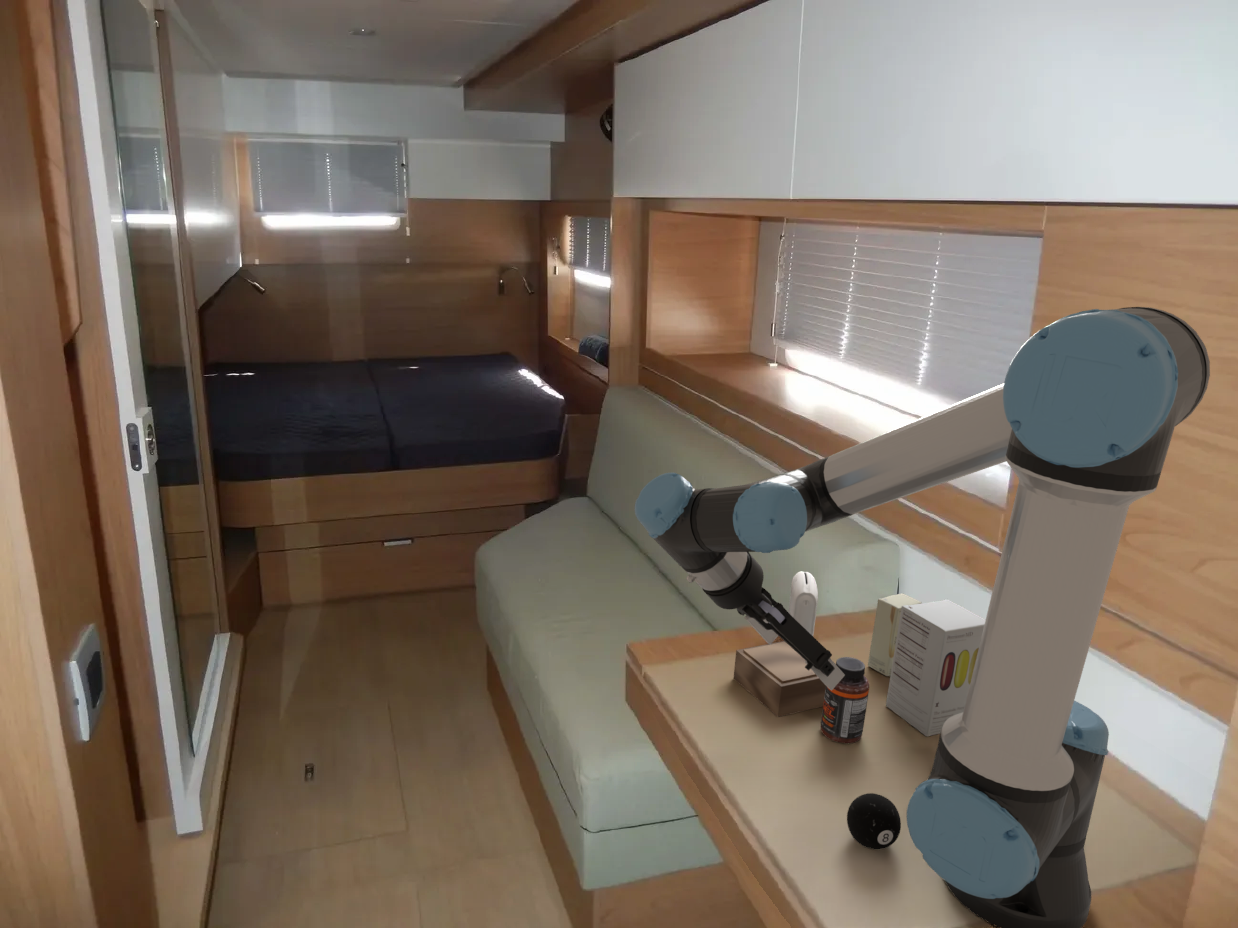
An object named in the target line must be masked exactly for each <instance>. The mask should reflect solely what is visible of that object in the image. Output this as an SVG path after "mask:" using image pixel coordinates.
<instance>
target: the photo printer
mask: <svg viewBox="0 0 1238 928" xmlns="http://www.w3.org/2000/svg"><path fill="white" fill-rule="evenodd" d="M818 591H819V590H818V585H817V582H816V578H815V576H813V574H812V573H810V572H809V571H802V570H801V571H798V572H796V573H795V574H794V575H793V577H792V580H791V584H790V594H789V595H790V597H789V604H788V611H787V612H788V613H789V614H790V615H791V616H792V617H793V618H794V619H795V620H796V621H797V622H798V623H800V624H801V625H802V626H803V627H804V628H805V629H806V630H807V631H808V632H809V633H810V634H811V635H812V636H813V637H814V635H815V634H814V633H815V627H816V626H815V624H816V617H817V609H818V601H819V593H818Z"/></svg>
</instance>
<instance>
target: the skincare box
mask: <svg viewBox="0 0 1238 928" xmlns="http://www.w3.org/2000/svg"><path fill="white" fill-rule="evenodd" d="M921 603H923V602H922V601H920V600H918V599H916V598H914V597H912V596H909V595H908V594H905V593H902V592H901V593H897V594H893V595H892V594H891V595H888V596H885V597H880V598H878V599H877V604H876V611H875V615H874V616H875V617H874V623H873V629H872V635H871V644H870V648H869V649H870V650H869V656H868V661H867V666H868V667H869V668H871V669H873V670H874V671H876V672H878V673H880V674H882V675H884V676H885V677H890V676H891V670H892V664H893V657H894V652H895V645H896V639H897V632H898V626H899V620H900V614H901V607H902V606H904V605H914V604H921Z"/></svg>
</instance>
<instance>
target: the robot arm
mask: <svg viewBox="0 0 1238 928" xmlns="http://www.w3.org/2000/svg"><path fill="white" fill-rule="evenodd" d="M1210 365H1211V362H1210V358H1209V354H1208V349H1207V348H1206V345H1205V343H1204V341H1203V340H1202V339H1201V336H1200V335H1199V334H1198V333H1197V331H1196V329H1194V328H1193V327H1192V326H1191V325H1190V324H1188V322H1186V321H1185V320H1183V319H1182V318H1180V317H1179V316H1177V315H1175V314H1173V313H1171V312H1169V311H1168V312H1167V311H1166V310H1162V309H1158V308H1154V307H1150V306H1149V307H1147V306H1130V307H1129V306H1128V307H1127V306H1126V307H1121V308H1115V309H1113V308H1112V309H1099V308H1095V309H1088V310H1087V309H1086V310H1081V311H1079V312H1075V313H1072V314H1068V315H1066V316H1064V317H1061V318H1059V319H1058V320H1055V321H1054V322H1052V323H1049V324H1048V325H1046V326H1044V327H1042V328H1041V329H1039V330H1038V331H1037V332H1035V333H1034V334H1033V335H1032V336H1030V337H1029V338H1028V339H1027V340H1026V341H1025V342H1024V343H1023V344H1022V346H1021V347H1019V350H1018V351H1017V352H1016V354H1015V355H1014V357H1013V358H1012V359H1011V362H1010V363H1009V366H1008V368H1007V372H1006V374H1005V378H1004V383H1002V384H1000V385H999V384H998V385H997V386H994V387H992V388H990V389H987V390H985V391H982V392H980V393H978V394H975V395H973V396H970V397H967V398H965V399H963V400H961V401H958V402H956V403H954V404H951V405H949V406H948V405H947V406H946V407H943V408H941V409H939V410H937V411H934V412H932V413H929V414H927V415H925V416H922V417H920V418H917V419H915V420H912V421H910V422H908V423H906V424H903V425H900V426H899V427H896V428H893V429H891V430H889V431H886V432H884V433H882V434H879V435H877V436H874V437H872V438H869V439H867V440H865V441H863V442H859V443H858V444H855V445H853V446H851V447H848V448H845V449H844V450H841V451H838V452H836V453H833V454H831V455H830V456H827V457H824V458H821V459H819V460H816V461H814V462H812V463H809V464H806V465H804V466H801V467H798V468H796V469H793V470H790V471H787V472H785V473H781V474H776V475H774V476H771V477H767V478H763V479H760V480H756V481H752V482H750V483H746V484H739V485H733V486H724V487H716V488H712V487H710V488H699V489H698V488H694V487H693V485H692V483H691V482H690V481H689V480H687V479H686V478H685V477H684V476H682V475H681V474H678V473H676V472H665V473H662V474H659V475H658V476H656V477H654V478H652V479H651V480H650V481H648V483H647V484H646V485H644V487H643V488H642V489H641V490H640V492H639V494H638V496H637V498H636V499H635V504H634V514H635V517H636V519H637V521H638V522H639V523H640V524H641V525H642V526H643V527H644V529H645V530H646V531H647V534H648V536H649V537H650V538H652V539H653V540H654V541H655V543H657V544H658V545H659V546H660V547H661V549H663V550H664V551H665V552H666V554H668V555H669V557H671V558H672V559H673V561H675V562H676V563H677V564H678V565H679V567H681V568H682V569H683V570H684V571H685V572H686V573H687V574H688V575H687V576H686V581H687V582H688V583H689V584H692V583H694V582H695V583H696V584H697V585H698V586H699V587H700V588H701V589H702V591H703V592H704V593H705V594H706V595H707V597H709V599H711V601H712V602H714V604H715V605H716V606H717V607H719V608H722V609H724V610H736V611H737V613H738V614H739V615H740V616H742V617H743V616H744V619H745V621H746V622H748V624H749V625H750V626H751V627H752V628H753V629H754V630H755V632H756V633H758V634H759V636H760V637H761V638H762V639H763V640H764V641H765V642H766V643H767V644H770V645H771V644H772V643H774V641H775V640H776V639H777V638H778V637H779V638H780V639H781V640H782V641H785V642H786V643H787V644H788V645H789V646H790V647H791V648H793V649H794V650H795V651H796V652H797V653H798V654H799V655H800V656H801V657H802V658H804V659H805V660H806V661H805V663H806V664H807V665H806V666H805V668H806V669H807V670H810V669H811V670H812V671H813V672H814V673H815V674H816V675H817V676H818V677H819V678H820V680H821V681H822V682H823V683H824V684H825V685H826V686H827V687H828V688H829V689H830V690H833V689H834V687H835V686H836V685H837V684H838V683H839V682H840V680H841V679H842V678H843V677H844V676H845V674H844V673H843V672H842V671H841V670H840V669H839V668H838V666H837V665H836V662H834V661H833V659H831V657H832V656H833V654H832V653H831V650H829V649H827V648H826V647H825V646H824V645H822V644H821V642H820V641H819V640H817V639H816V638H815V636H814V635H813V636H812V635H811V634H810V633H809V632H808V631H807V630H806V629H805V628H804V627H803V626H802V625H801V624H800V623H798V622H797V621H796V620H795V619H794V618H793V617H792V616H791V615H790V614H789V613H788V612H789V611H788V610H787V609H786V608H785V607H784V605H783V604H782V603H781V602H777V601H776V600H775V599H774V598H773V596H772V594H771V593H770V592H769V591H768V590H767V589H766V588H764V587H763V582H764V570H763V568H762V566H761V564H759V562H758V561H757V560H756V559H755V558H754V557H753V555H752V554H751V553H763V554H770V553H771V552H772V553H773V552H775V551H776V552H777V551H785V550H786V551H787V550H791V549H792V548H795V547H796V546H797V545H798V544H799V543H800V539H801V538H802V537H803V536H805V533H806V532H808V531H809V532H810V531H811V530H814V529H818V528H821V527H823V526H827V525H829V524H833V523H836V522H837V521H841V520H842V519H846V518H849V517H852V516H853V515H855V514H858V513H861V512H864V511H867V510H870V509H873V508H876V507H878V506H882V505H884V504H887V503H890V502H893V501H896V500H899V499H901V498H904V497H908V496H910V495H913V494H916V493H919V492H921V491H922V492H923V491H925V490H928V489H931V488H935V487H936V486H939V485H943V484H945V483H948V482H950V481H951V482H952V481H953V480H956V479H960V478H963V477H965V476H968V475H971V474H974V473H977V472H979V471H982V470H986V469H989V468H991V467H994V466H997V465H1000V464H1003V463H1007V464H1008V465H1009V467H1010V468H1011V470H1012V471H1013V472H1014V474H1015V475H1016V477H1017V478H1018V484H1017V489H1016V493H1015V498H1014V500H1013V505H1012V509H1011V514H1010V516H1009V517H1010V518H1009V522H1008V526H1007V530H1006V534H1005V538H1004V542H1003V545H1002V550H1001V555H1000V559H999V563H998V567H997V571H996V576H995V580H994V585H993V588H992V593H991V596H990V600H989V605H988V609H987V613H986V618H985V619H986V620H985V625H984V629H983V633H982V637H981V641H980V645H979V649H978V654H977V658H976V662H975V666H974V670H973V674H972V678H971V683H970V687H969V691H968V695H967V699H966V703H965V707H964V712H962V713H959V714H956V715H953V716H952V717H950V718H948V719H947V720H946V721H945V723H944V725H943V727H942V730H941V733H940V734H939V739H938V744H937V747H936V750H935V755H934V759H933V764H932V767H931V771H930V773H929V776H928V777H927V779H926V780H924V781H922V782H921V783H920V784H918V786H917V787H915V790H914V791H913V793H912V796H911V797H910V799H909V801H908V804H907V808H906V824H907V829H908V832H909V836H910V839H911V841H912V843H913V845H914V846H915V848H916V849H917V850H919V852H920V853H921V855H922V859H923V860H924V861H925V863H926V864H927V865H928V866H929V867H930V868H931V870H932V871H934V872H935V873H936V874H937V876H939V877H940V878H941V879H942V880H944V882H945V885H946V886H947V888H948V889H949V891H950V892H951V893H952V895H953V896H954V897H955V898H956V899H957V900H958V901H959V902H960V903H961V904H962V905H963V906H964V907H966V908H967V909H968V910H970V912H971V913H972V914H975V915H976V916H977V917H980V918H981V919H982V920H984V921H985V922H987V923H989V924H991V925H993V926H995V927H998V928H1084V925H1085V924H1086V922H1087V920H1088V916H1089V911H1090V908H1091V904H1092V890H1091V885H1090V881H1089V874H1088V867H1087V860H1086V859H1087V858H1086V852H1085V845H1086V839H1087V835H1088V832H1089V826H1090V822H1091V818H1092V815H1093V814H1092V813H1093V810H1094V805H1095V800H1096V797H1097V793H1098V792H1097V791H1098V788H1099V783H1100V780H1101V779H1100V778H1101V774H1102V771H1103V767H1104V761H1105V758H1106V756H1108V754H1109V750H1108V744H1109V736H1110V734H1109V733H1110V732H1109V727H1108V725H1107V724H1106V722H1105V721H1104V719H1103V718H1102V717H1101V716H1100V715H1099V714H1097V712H1094V711H1093V710H1092V709H1091V708H1089V707H1088V706H1086V705H1083V704H1082V703H1080V702H1078V701H1076V700H1075V699H1076V695H1077V692H1078V689H1079V686H1080V685H1079V684H1080V681H1081V677H1082V674H1083V671H1084V668H1085V663H1086V660H1087V657H1088V653H1089V649H1090V645H1091V643H1092V639H1093V635H1094V632H1095V628H1096V624H1097V622H1098V617H1099V615H1100V610H1101V609H1102V608H1101V606H1102V603H1103V601H1104V600H1103V599H1104V596H1105V593H1106V589H1107V587H1108V582H1109V579H1110V575H1111V572H1112V568H1113V565H1114V562H1115V558H1116V554H1117V551H1118V547H1119V544H1120V540H1121V537H1122V533H1123V530H1124V526H1125V523H1126V518H1127V515H1128V512H1129V508H1130V506H1131V505H1132V504H1133V503H1135V501H1138V500H1140V499H1142V498H1144V497H1146V496H1149V495H1150V494H1152V493H1155V491H1156V490H1157V488H1158V485H1159V481H1160V477H1161V474H1162V471H1163V468H1164V465H1165V462H1166V458H1167V455H1168V451H1169V448H1170V444H1171V441H1172V437H1173V434H1174V430H1175V427H1177V426H1178V425H1180V424H1181V423H1182V422H1183V421H1184V420H1186V419H1188V418H1189V417H1190V416H1191V415H1192V414H1193V412H1194V411H1195V410H1196V409H1197V407H1198V406H1199V405H1200V403H1201V402H1202V400H1203V398H1204V397H1205V394H1206V392H1207V389H1208V385H1209V380H1210V377H1211V370H1210V369H1211V367H1210Z"/></svg>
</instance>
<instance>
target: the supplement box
mask: <svg viewBox="0 0 1238 928" xmlns="http://www.w3.org/2000/svg"><path fill="white" fill-rule="evenodd" d="M985 620H986V618H984V617H982V616H980V615H978V614H976V613H974V612H972V611H971V610H969V609H967V608H965V607H963V606H962V605H959V604H958V603H956V602H953V601H952V600H950V599H948V598H947V599H946V598H945V599H942V600H936V601H930V602H929V601H928V602H922V603H921V604H914V605H904V606H902V607H901V614H900V620H899V626H898V632H897V639H896V645H895V652H894V657H893V664H892V670H891V675H890V676H889V677H890V678H889V683H888V689H887V694H886V695H887V697H886V700H885V706H886V707H887V708H888V709H889V710H891V711H892V712H893V713H895V714H896V715H898V716H899V717H901V719H903V720H904V721H905V722H907V723H908V724H909V725H910V726H912V727H913V728H914V729H916V730H917V731H918V732H920V733H921V734H923V735H924V737H930V736H936V735H940V734H941V730H942V727H943V725H944V723H945V721H946V720H947V719H948V718H950V717H952V716H953V715H956V714H959V713H962V712H964V707H965V703H966V699H967V695H968V691H969V687H970V683H971V678H972V674H973V670H974V666H975V662H976V658H977V654H978V649H979V645H980V641H981V637H982V633H983V629H984V625H985Z"/></svg>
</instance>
